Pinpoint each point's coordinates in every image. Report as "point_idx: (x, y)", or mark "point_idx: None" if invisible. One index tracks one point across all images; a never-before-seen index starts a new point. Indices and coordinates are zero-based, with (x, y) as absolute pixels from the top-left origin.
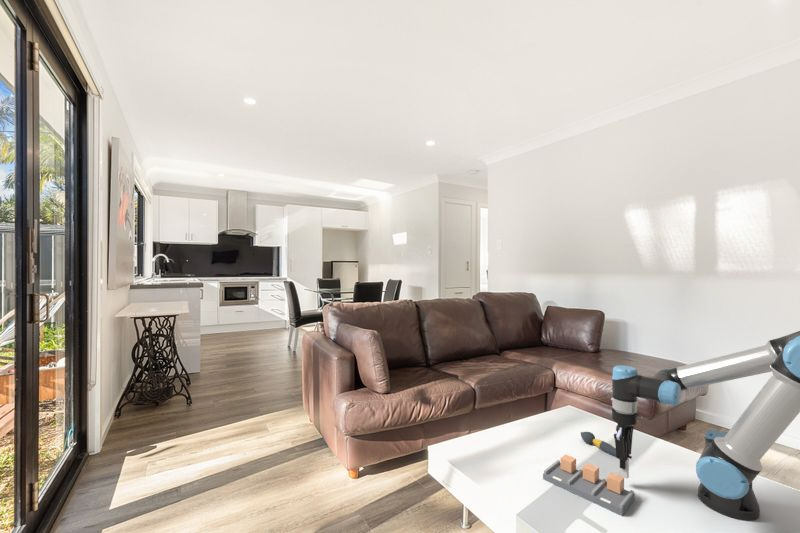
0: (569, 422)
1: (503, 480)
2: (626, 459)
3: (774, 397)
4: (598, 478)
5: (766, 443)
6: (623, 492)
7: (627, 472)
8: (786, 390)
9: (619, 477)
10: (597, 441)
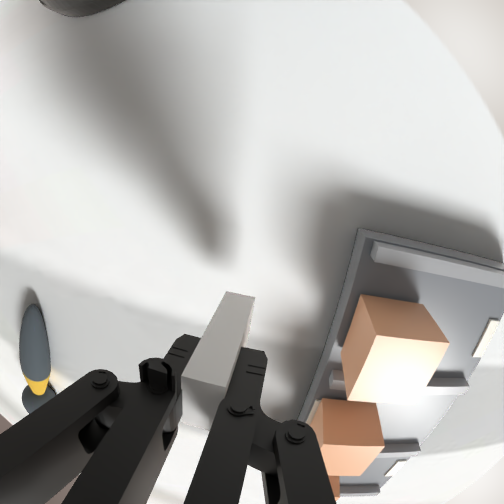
0: (19, 411)
1: (418, 497)
2: (245, 406)
3: None
4: (328, 401)
5: None
6: (387, 290)
7: (242, 317)
8: None
9: (391, 357)
10: (37, 387)
